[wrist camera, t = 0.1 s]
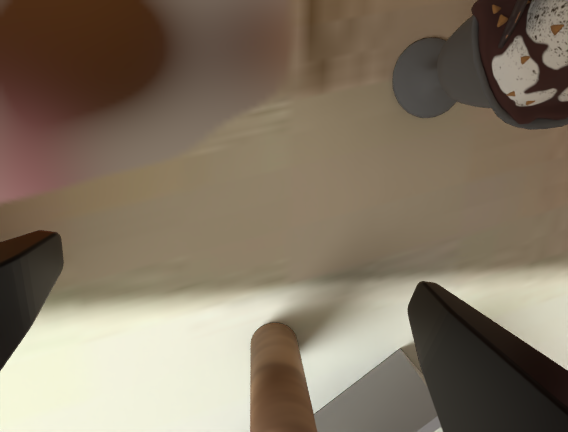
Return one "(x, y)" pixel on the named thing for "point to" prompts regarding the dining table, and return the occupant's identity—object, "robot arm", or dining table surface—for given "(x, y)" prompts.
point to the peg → (278, 383)
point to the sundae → (493, 65)
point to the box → (383, 402)
